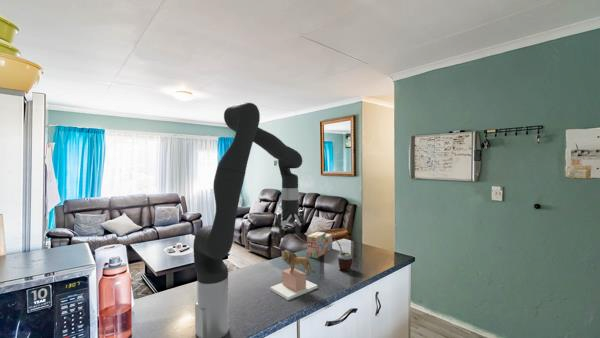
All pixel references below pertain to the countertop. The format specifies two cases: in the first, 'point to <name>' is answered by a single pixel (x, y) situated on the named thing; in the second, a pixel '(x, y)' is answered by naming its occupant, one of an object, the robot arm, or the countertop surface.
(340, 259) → the mate gourd
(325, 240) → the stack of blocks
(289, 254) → the lion figurine
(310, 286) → the baseplate
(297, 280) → the terracotta brick
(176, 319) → the countertop surface
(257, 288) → the countertop surface
